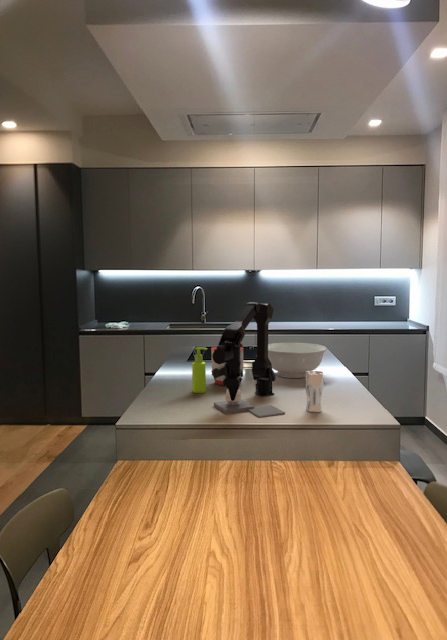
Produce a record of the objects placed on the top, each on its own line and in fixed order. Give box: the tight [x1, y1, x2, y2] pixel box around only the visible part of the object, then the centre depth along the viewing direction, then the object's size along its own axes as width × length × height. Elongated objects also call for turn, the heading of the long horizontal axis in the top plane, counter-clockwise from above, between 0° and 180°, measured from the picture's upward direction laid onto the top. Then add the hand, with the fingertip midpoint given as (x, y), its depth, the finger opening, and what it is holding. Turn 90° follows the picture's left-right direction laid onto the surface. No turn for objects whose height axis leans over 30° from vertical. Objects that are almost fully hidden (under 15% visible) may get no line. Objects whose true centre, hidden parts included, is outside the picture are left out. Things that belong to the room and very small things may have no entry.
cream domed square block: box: [225, 388, 242, 401], centre depth 201 cm, size 6×6×4 cm
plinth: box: [213, 398, 255, 415], centre depth 201 cm, size 12×12×6 cm
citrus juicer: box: [210, 345, 244, 386], centre depth 243 cm, size 16×17×20 cm
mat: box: [247, 404, 286, 419], centre depth 196 cm, size 11×11×1 cm
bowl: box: [268, 342, 327, 379], centre depth 258 cm, size 32×32×15 cm
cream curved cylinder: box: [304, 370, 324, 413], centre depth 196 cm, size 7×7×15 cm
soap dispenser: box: [191, 346, 208, 394], centre depth 227 cm, size 6×7×20 cm
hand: (233, 398), depth 201 cm, fingers closed on cream domed square block, 6 cm apart
